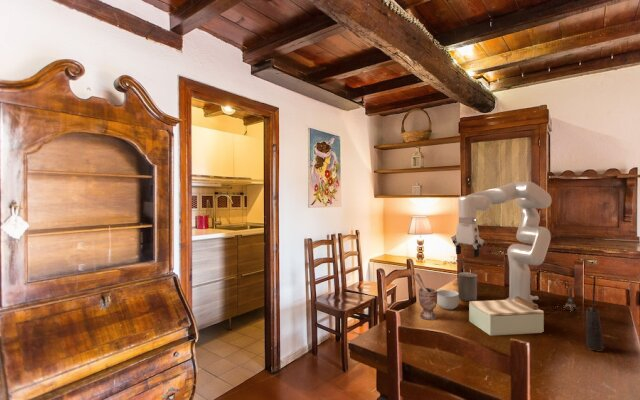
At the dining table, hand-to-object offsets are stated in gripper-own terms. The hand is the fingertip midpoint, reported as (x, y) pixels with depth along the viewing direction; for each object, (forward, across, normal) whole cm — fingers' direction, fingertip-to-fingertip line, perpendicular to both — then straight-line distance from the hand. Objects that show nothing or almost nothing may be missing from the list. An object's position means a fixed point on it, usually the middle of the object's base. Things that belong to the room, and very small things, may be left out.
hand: (467, 255), depth 167 cm
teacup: (+28, +11, +2) cm, 30 cm away
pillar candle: (+29, +13, -19) cm, 37 cm away
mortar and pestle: (+28, +7, +23) cm, 37 cm away
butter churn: (+29, -50, -5) cm, 57 cm away
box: (+28, -20, +3) cm, 35 cm away
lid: (+20, -20, +3) cm, 28 cm away
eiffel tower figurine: (+30, -26, -46) cm, 61 cm away
